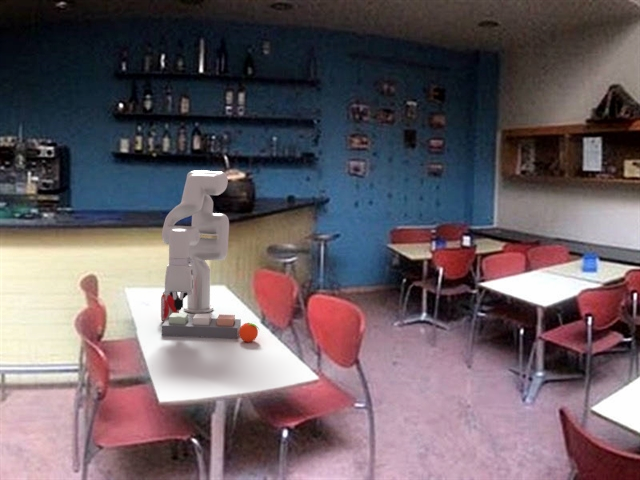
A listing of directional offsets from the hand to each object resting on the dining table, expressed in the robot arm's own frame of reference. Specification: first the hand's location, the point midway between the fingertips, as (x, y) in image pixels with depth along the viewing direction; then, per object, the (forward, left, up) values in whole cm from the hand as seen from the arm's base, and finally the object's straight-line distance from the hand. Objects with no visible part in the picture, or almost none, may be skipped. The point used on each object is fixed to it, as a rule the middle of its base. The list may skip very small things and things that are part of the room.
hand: (178, 309), depth 239 cm
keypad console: (0, +9, -9) cm, 13 cm away
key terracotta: (0, +18, -6) cm, 19 cm away
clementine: (+9, +28, -9) cm, 31 cm away
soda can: (-13, -6, -9) cm, 17 cm away
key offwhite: (0, +9, -6) cm, 11 cm away
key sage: (0, 0, -6) cm, 6 cm away
